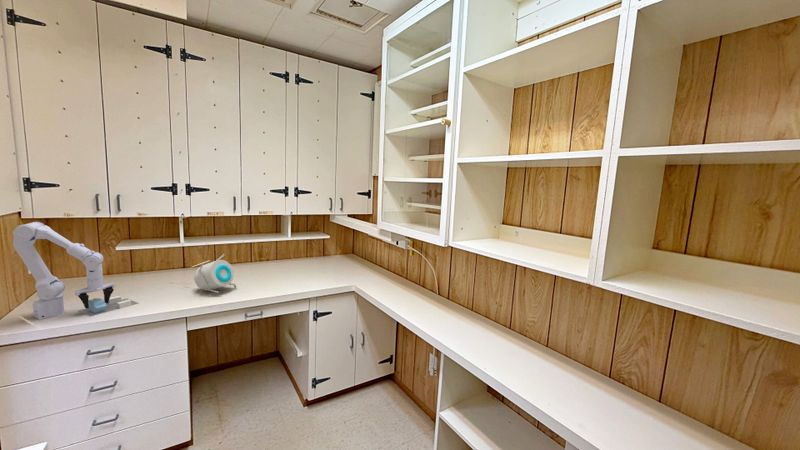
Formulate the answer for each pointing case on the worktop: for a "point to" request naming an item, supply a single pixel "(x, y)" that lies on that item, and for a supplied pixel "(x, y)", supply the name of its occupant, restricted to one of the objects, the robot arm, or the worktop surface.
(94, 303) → the block
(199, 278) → the satellite
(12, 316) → the worktop surface
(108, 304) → the plate
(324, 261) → the worktop surface
